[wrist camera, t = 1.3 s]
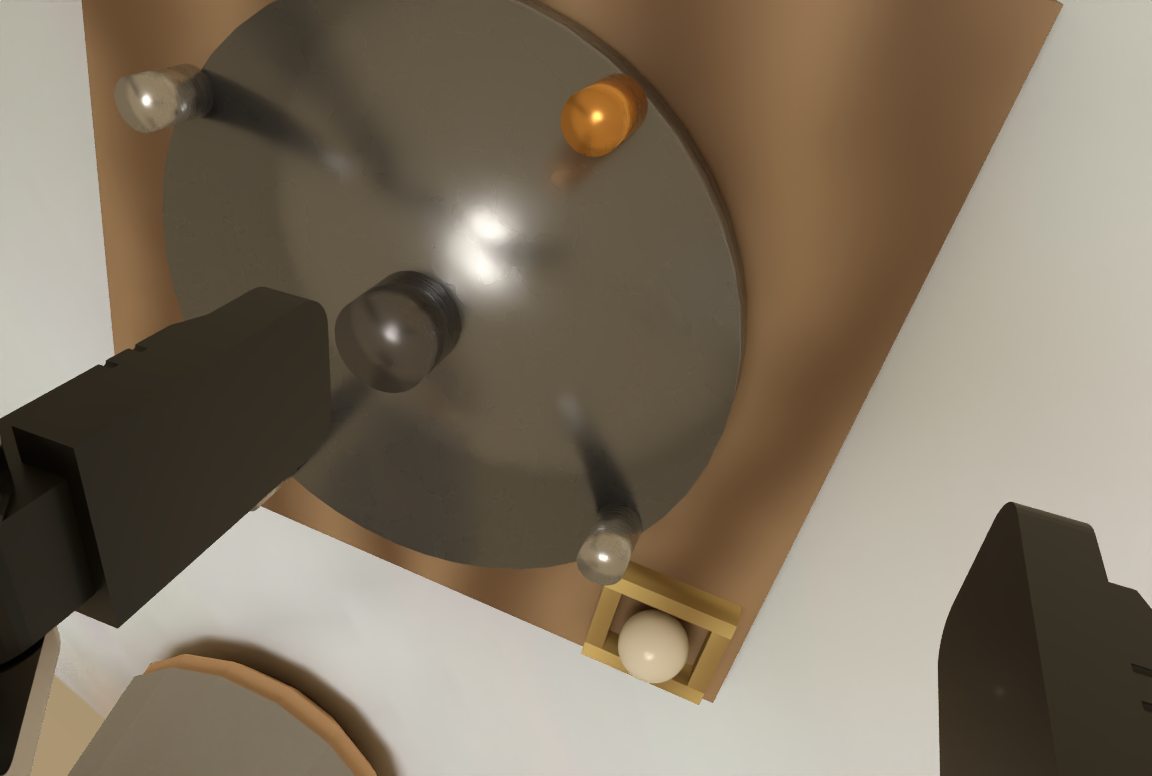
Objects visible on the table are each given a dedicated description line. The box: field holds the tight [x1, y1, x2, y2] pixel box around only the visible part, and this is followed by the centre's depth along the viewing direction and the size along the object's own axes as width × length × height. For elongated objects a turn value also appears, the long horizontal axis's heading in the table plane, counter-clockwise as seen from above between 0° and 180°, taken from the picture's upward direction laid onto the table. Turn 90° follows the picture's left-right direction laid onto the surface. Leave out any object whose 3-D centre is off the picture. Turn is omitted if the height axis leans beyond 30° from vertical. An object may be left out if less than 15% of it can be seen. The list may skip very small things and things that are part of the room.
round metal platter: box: [114, 0, 747, 586], centre depth 31 cm, size 23×23×4 cm
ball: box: [618, 609, 689, 683], centre depth 36 cm, size 3×3×3 cm
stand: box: [82, 0, 1063, 705], centre depth 33 cm, size 32×30×3 cm
